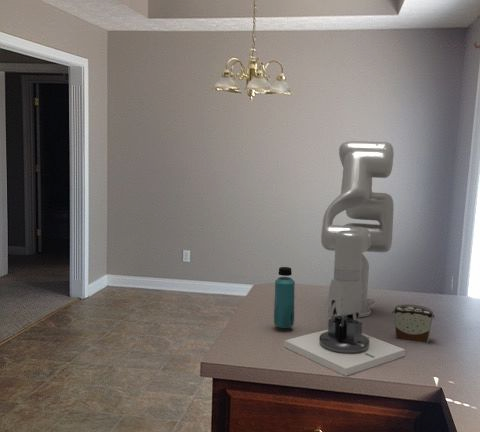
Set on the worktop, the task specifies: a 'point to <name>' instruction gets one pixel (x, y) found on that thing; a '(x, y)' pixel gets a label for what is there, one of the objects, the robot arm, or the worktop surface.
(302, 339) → the dial plate
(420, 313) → the food container
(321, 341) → the dial
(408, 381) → the worktop surface
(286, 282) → the beverage bottle
